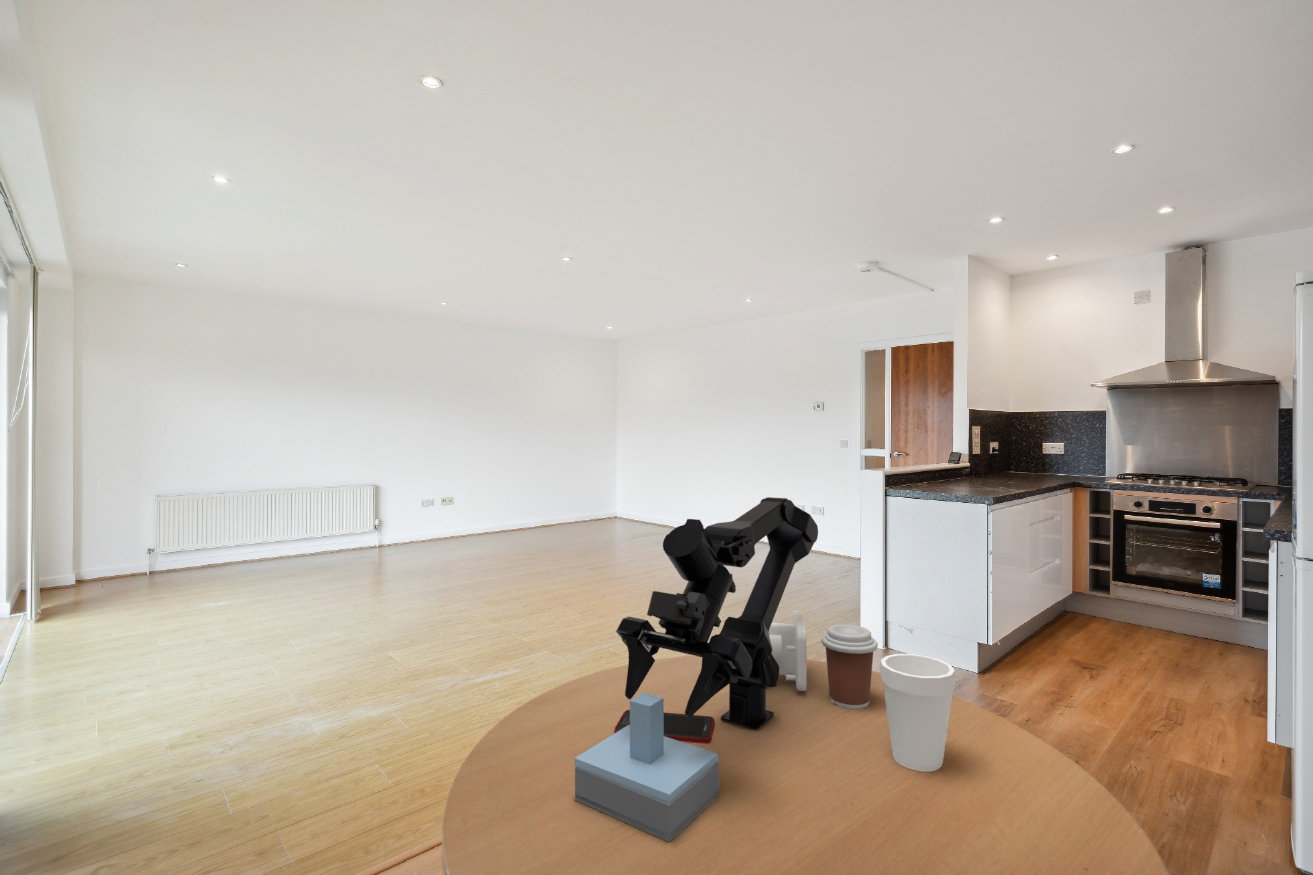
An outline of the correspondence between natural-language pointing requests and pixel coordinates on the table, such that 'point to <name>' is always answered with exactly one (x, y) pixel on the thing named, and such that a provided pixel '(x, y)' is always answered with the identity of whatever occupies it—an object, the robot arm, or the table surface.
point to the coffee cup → (849, 664)
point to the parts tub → (647, 802)
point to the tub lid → (647, 754)
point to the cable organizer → (791, 649)
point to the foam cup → (917, 708)
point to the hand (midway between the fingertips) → (656, 706)
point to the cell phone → (680, 727)
